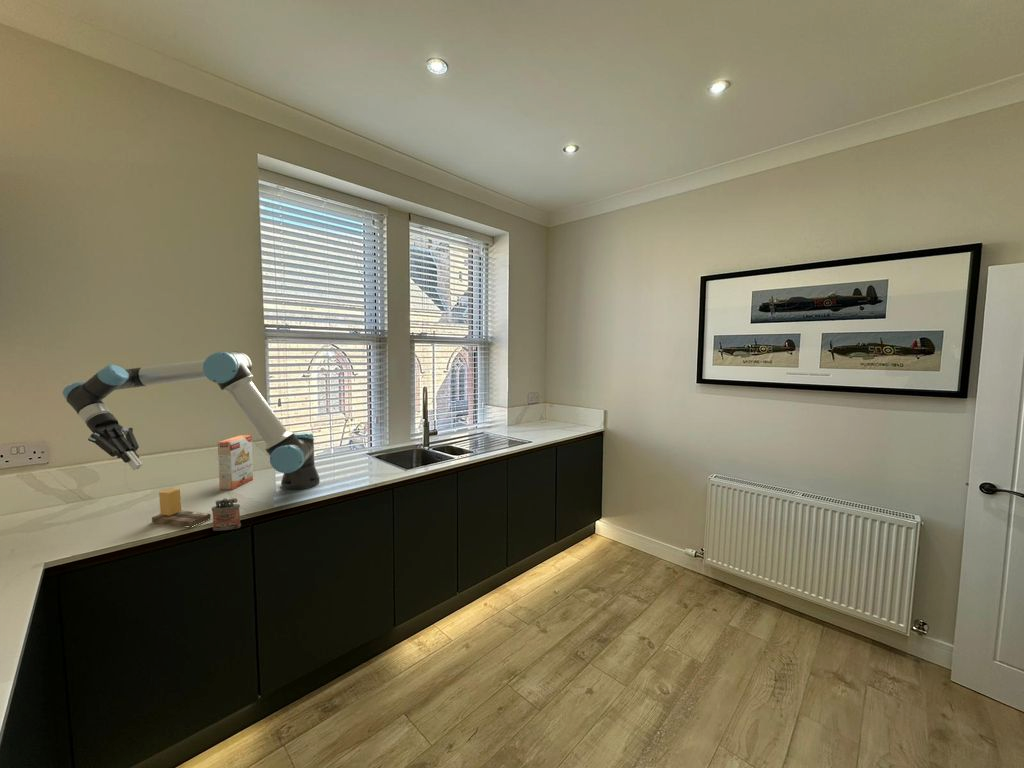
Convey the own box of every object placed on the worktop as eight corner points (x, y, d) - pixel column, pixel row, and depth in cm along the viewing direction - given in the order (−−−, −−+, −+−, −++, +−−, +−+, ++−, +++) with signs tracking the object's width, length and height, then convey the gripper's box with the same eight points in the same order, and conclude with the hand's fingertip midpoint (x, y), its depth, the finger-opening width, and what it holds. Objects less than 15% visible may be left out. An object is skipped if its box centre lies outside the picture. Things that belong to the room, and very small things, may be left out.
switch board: (152, 522, 142) (151, 516, 141) (172, 514, 148) (172, 509, 148) (191, 527, 138) (190, 521, 138) (210, 519, 145) (210, 513, 144)
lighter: (211, 531, 135) (209, 502, 134) (215, 527, 138) (213, 498, 138) (238, 528, 137) (237, 499, 136) (242, 524, 141) (240, 496, 140)
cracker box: (233, 490, 174) (230, 441, 172) (219, 490, 174) (216, 441, 172) (254, 479, 188) (252, 434, 186) (241, 479, 188) (239, 434, 186)
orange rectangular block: (160, 514, 142) (159, 492, 142) (172, 510, 146) (170, 488, 145) (169, 515, 141) (168, 493, 141) (181, 511, 145) (179, 489, 145)
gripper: (115, 422, 155) (153, 468, 153) (70, 429, 142) (111, 479, 140) (125, 409, 153) (163, 455, 151) (80, 414, 140) (121, 465, 138)
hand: (138, 467), depth 145 cm, fingers closed
